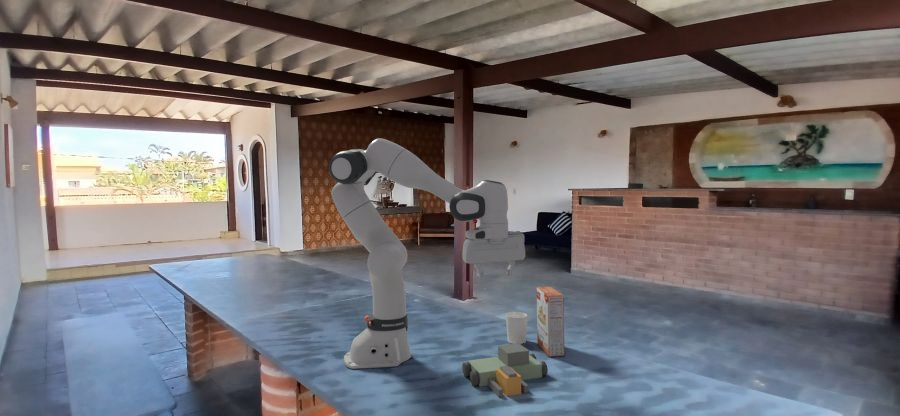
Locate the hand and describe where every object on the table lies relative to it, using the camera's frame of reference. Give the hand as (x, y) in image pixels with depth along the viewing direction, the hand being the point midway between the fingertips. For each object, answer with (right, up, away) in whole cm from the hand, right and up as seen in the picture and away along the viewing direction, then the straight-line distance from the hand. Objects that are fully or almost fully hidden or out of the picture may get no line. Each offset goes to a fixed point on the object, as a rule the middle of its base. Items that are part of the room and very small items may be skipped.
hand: (494, 275), depth 146 cm
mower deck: (+4, -29, -9) cm, 31 cm away
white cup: (+11, -28, +25) cm, 39 cm away
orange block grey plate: (+2, -30, -15) cm, 34 cm away
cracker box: (+21, -28, +16) cm, 39 cm away
